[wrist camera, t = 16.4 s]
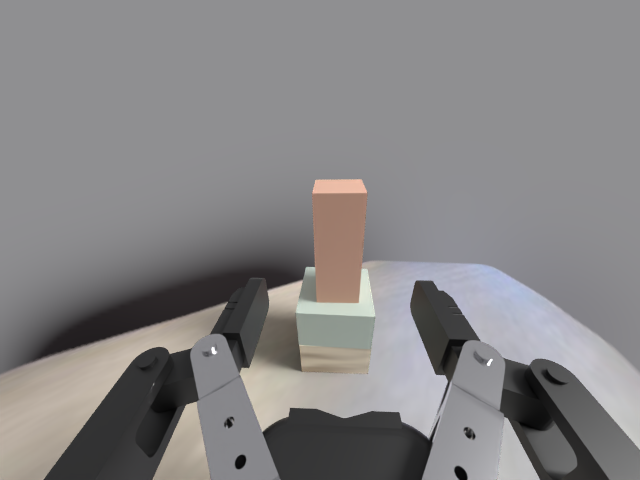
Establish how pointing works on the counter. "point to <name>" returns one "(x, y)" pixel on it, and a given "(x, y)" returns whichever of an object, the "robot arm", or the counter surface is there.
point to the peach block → (338, 239)
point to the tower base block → (334, 359)
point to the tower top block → (335, 317)
